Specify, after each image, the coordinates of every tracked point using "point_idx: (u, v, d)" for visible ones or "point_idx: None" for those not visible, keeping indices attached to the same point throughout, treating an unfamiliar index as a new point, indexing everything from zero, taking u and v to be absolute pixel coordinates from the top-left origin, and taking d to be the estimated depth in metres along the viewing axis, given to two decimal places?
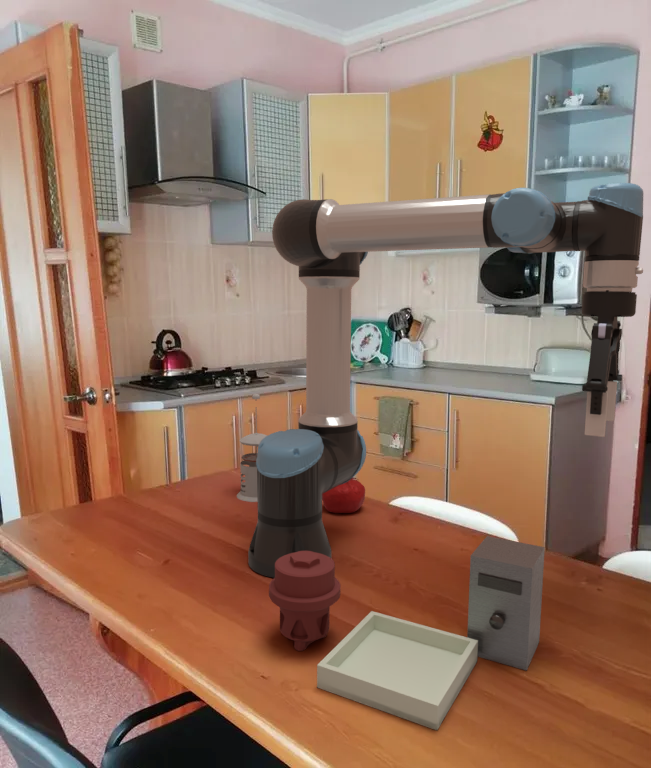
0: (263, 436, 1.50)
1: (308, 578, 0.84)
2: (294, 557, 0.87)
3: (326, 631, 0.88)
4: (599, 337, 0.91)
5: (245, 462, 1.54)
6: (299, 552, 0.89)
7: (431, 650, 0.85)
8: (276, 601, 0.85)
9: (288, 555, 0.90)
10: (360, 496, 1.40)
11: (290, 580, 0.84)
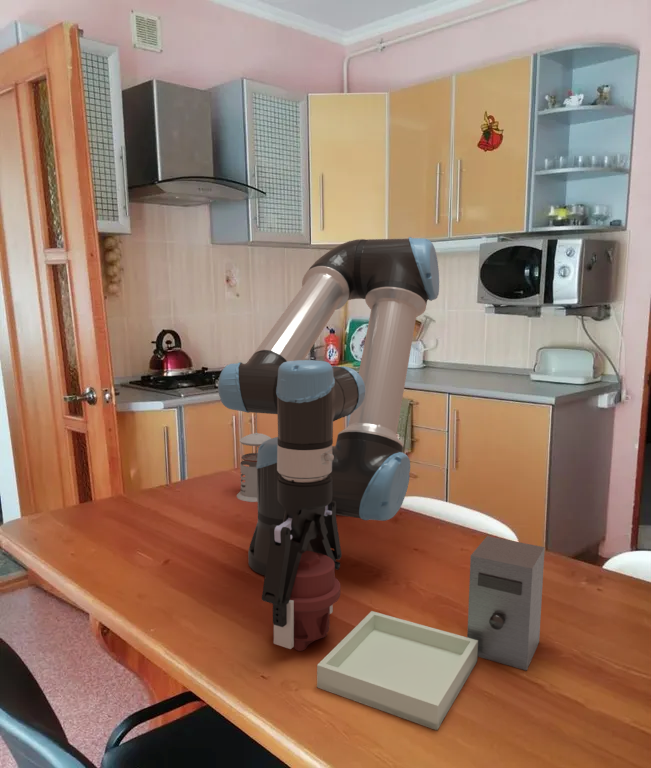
0: (263, 436, 1.50)
1: (308, 578, 0.84)
2: None
3: (326, 631, 0.88)
4: (277, 541, 0.82)
5: (245, 462, 1.54)
6: None
7: (431, 650, 0.85)
8: None
9: None
10: None
11: None
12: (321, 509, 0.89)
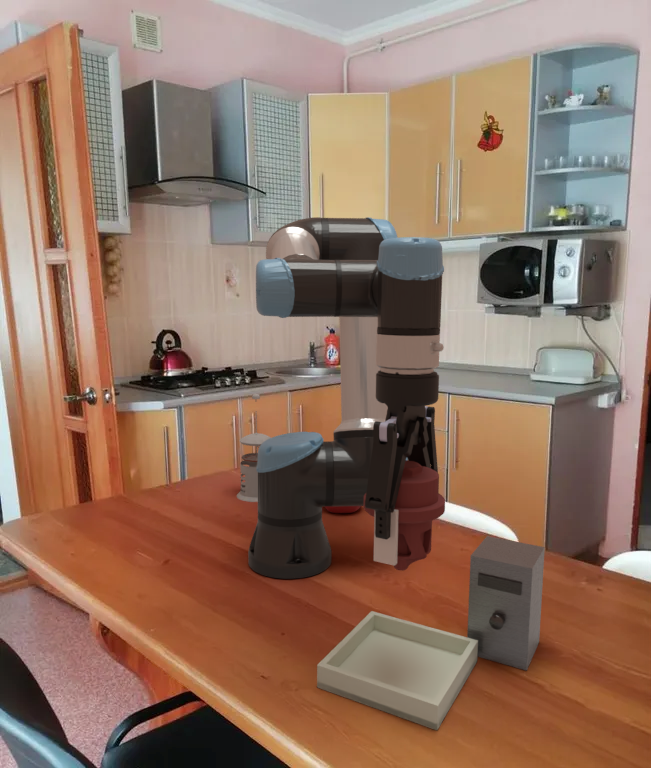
0: (263, 436, 1.50)
1: (414, 484, 0.74)
2: None
3: (429, 549, 0.77)
4: (381, 440, 0.71)
5: (245, 462, 1.54)
6: None
7: (431, 650, 0.85)
8: None
9: None
10: None
11: None
12: (422, 412, 0.78)
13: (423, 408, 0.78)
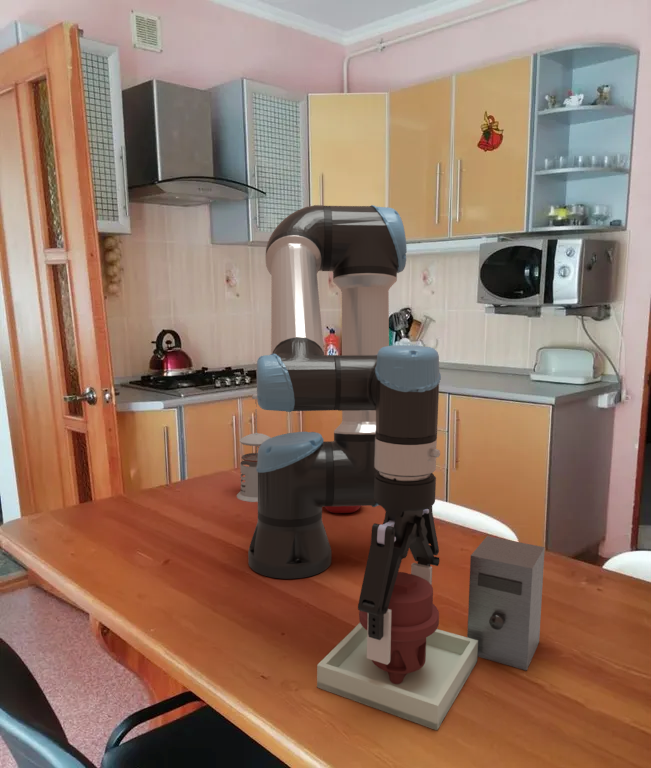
0: (263, 436, 1.50)
1: (409, 604, 0.75)
2: None
3: (424, 661, 0.79)
4: (379, 542, 0.73)
5: (245, 462, 1.54)
6: None
7: (431, 650, 0.85)
8: None
9: None
10: None
11: (388, 606, 0.76)
12: (420, 511, 0.80)
13: None
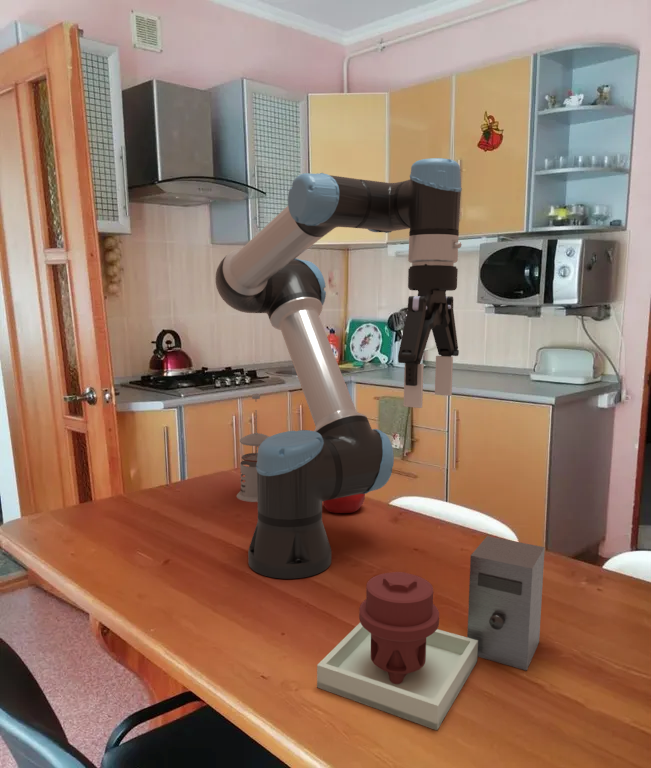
0: (263, 436, 1.50)
1: (410, 604, 0.75)
2: (389, 580, 0.78)
3: (424, 661, 0.79)
4: (414, 309, 0.93)
5: (245, 462, 1.54)
6: (392, 574, 0.80)
7: (431, 650, 0.85)
8: (372, 629, 0.77)
9: (378, 577, 0.82)
10: (360, 496, 1.40)
11: (388, 606, 0.76)
12: (444, 301, 1.00)
13: (444, 298, 1.00)
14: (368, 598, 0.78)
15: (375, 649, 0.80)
